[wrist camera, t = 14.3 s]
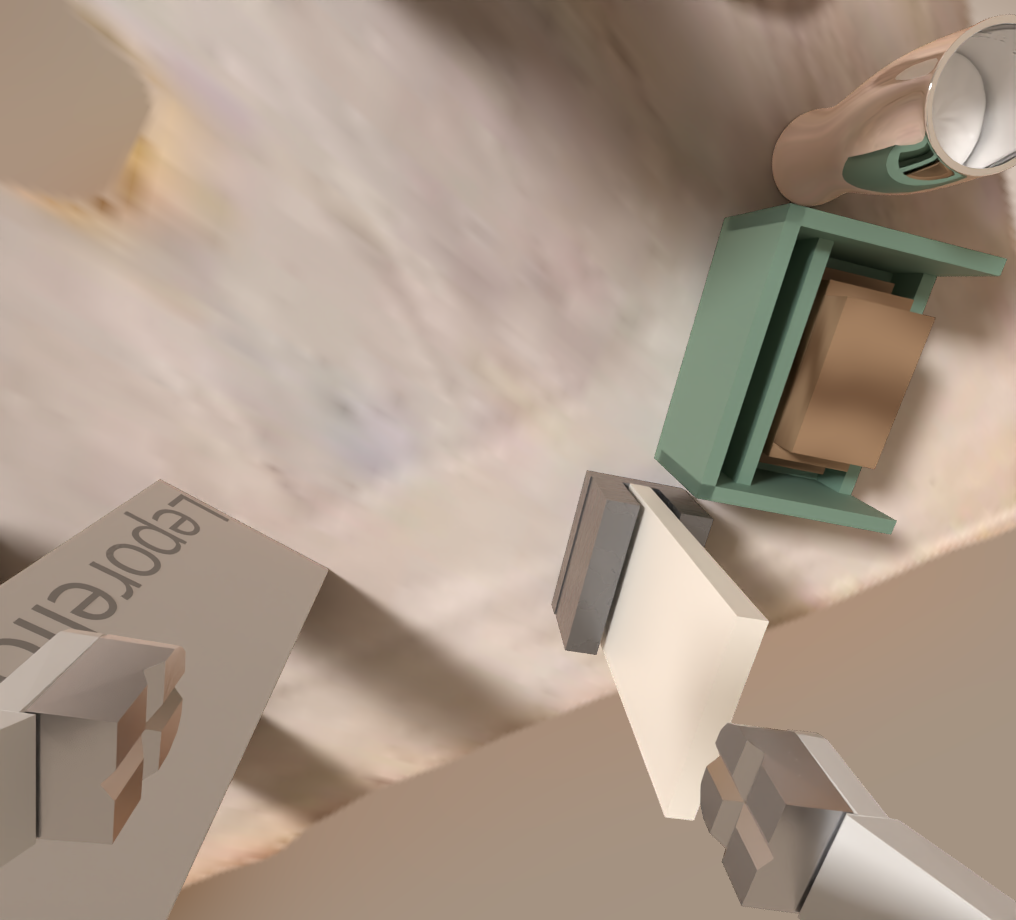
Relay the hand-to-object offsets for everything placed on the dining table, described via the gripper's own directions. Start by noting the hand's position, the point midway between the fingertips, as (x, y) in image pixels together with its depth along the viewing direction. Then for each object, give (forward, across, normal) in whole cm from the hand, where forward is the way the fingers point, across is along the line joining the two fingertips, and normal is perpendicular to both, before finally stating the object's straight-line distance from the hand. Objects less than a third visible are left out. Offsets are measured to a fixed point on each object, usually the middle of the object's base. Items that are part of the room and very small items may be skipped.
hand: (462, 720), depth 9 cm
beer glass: (+37, -21, -19) cm, 47 cm away
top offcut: (+31, -25, -5) cm, 40 cm away
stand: (+37, -15, +12) cm, 42 cm away
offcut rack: (+37, -23, -5) cm, 44 cm away
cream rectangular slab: (+35, -15, +12) cm, 40 cm away
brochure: (+37, +15, +18) cm, 44 cm away
